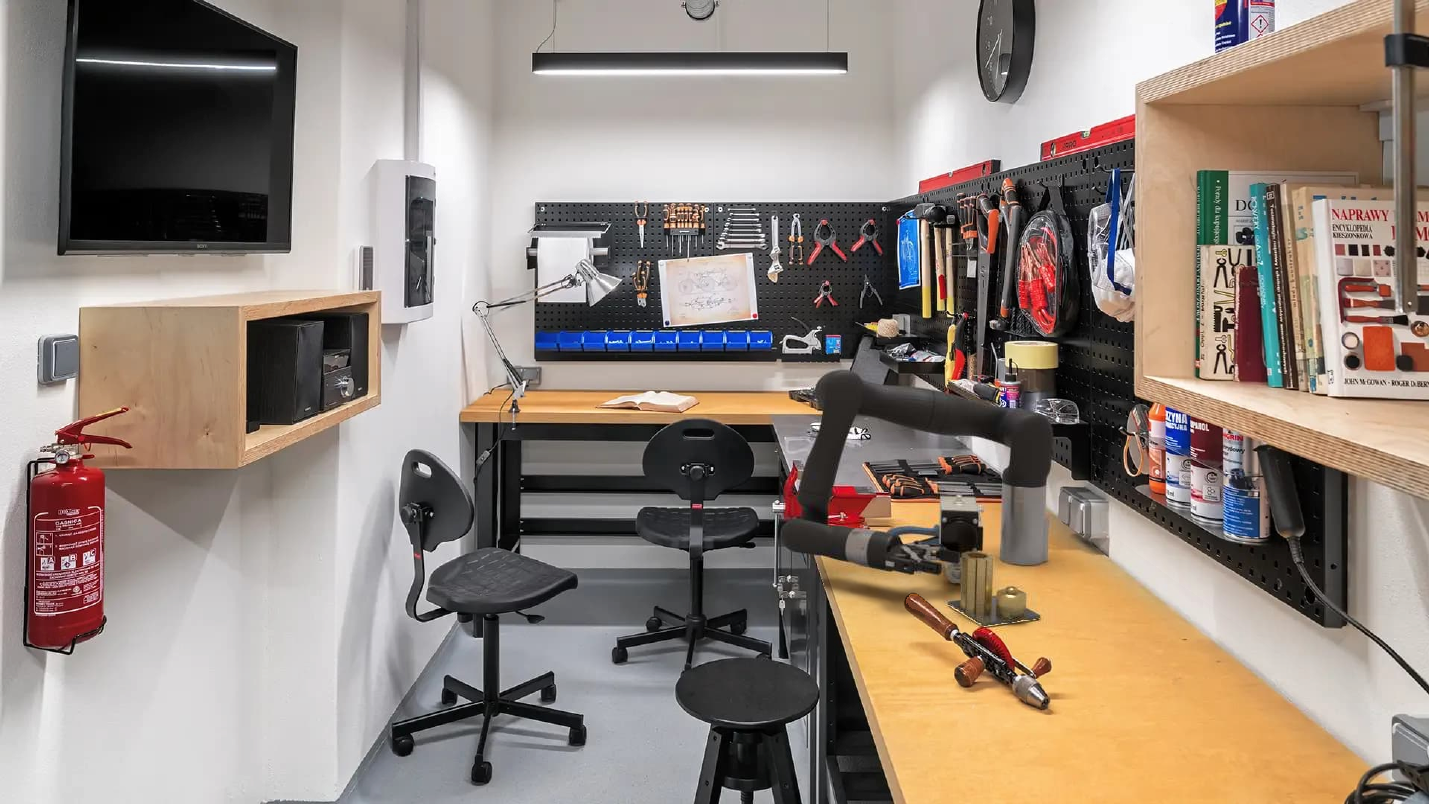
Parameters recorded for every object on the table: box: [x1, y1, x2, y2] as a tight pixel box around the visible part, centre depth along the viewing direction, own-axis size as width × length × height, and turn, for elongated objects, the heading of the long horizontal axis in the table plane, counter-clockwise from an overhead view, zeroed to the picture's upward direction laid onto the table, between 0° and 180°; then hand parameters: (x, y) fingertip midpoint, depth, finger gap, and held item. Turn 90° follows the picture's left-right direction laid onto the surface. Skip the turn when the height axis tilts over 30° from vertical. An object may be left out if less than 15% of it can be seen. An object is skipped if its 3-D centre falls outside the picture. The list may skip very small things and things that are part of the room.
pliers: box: [886, 523, 940, 545], centre depth 216 cm, size 20×2×6 cm, turn 98°
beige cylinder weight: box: [996, 585, 1027, 620], centre depth 172 cm, size 5×5×5 cm
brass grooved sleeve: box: [960, 551, 994, 613], centre depth 176 cm, size 6×6×10 cm
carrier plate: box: [947, 594, 1042, 627], centre depth 175 cm, size 12×12×5 cm
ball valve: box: [938, 494, 985, 584], centre depth 194 cm, size 18×8×18 cm, turn 168°
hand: (950, 563), depth 178 cm, fingers open, 8 cm apart
